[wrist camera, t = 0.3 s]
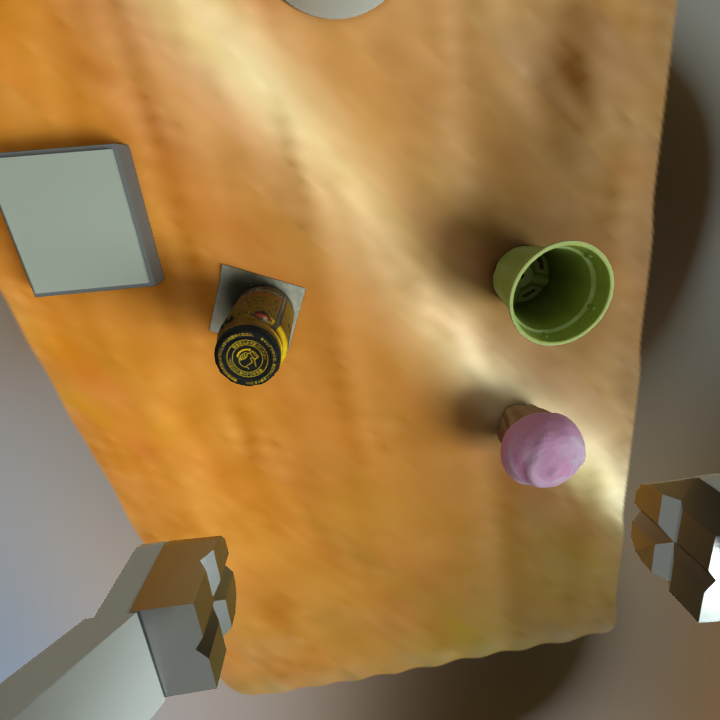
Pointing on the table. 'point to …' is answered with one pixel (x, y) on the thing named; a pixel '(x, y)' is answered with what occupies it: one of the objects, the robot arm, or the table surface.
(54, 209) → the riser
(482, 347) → the table surface
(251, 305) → the condiment
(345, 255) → the table surface
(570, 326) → the plant pot
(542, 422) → the cupcake
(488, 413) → the table surface
